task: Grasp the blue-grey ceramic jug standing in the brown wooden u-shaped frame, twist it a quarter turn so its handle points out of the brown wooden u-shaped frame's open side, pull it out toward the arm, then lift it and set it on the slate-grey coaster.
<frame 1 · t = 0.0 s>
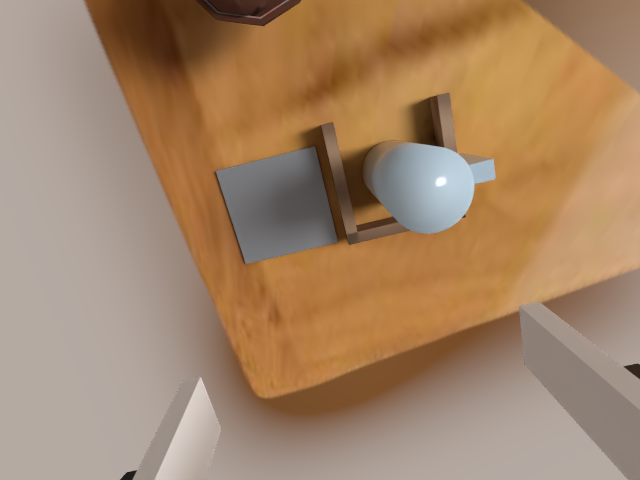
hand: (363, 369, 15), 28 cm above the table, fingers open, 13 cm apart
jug: (391, 170, 40), resting in brown wooden u-shaped frame
brown wooden u-shaped frame: (391, 170, 40), on the table
coaster: (279, 207, 41), on the table
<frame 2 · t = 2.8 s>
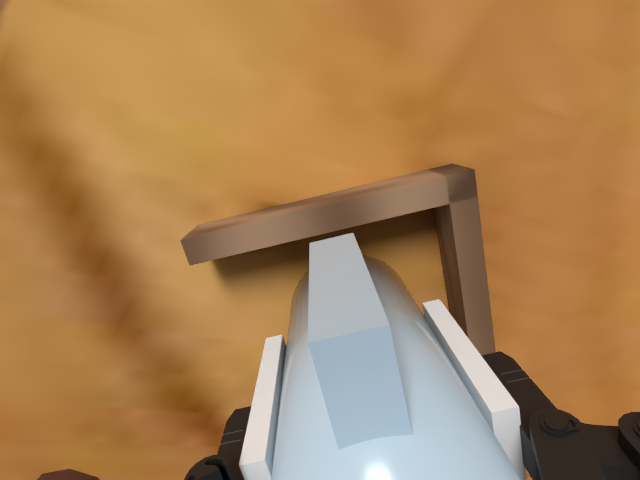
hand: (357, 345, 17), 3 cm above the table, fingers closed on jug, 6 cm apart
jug: (350, 309, 20), resting in brown wooden u-shaped frame, touching gripper
brown wooden u-shaped frame: (350, 309, 20), on the table
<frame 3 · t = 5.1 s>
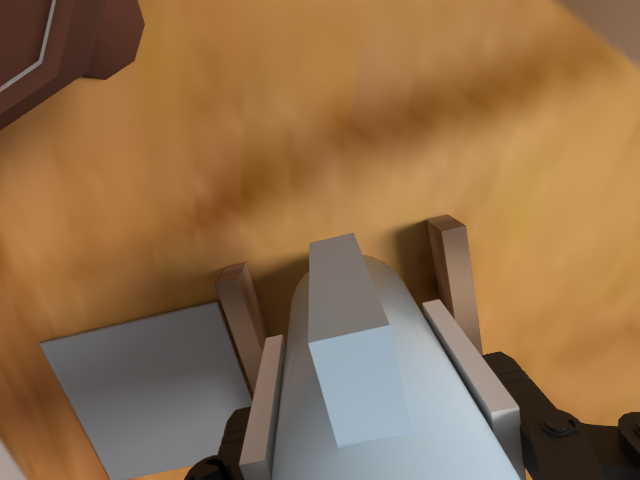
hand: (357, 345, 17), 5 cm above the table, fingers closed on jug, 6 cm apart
ice cream bowl: (86, 17, 18), on the table
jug: (350, 310, 20), point 2 cm above the table, touching gripper
brown wooden u-shaped frame: (358, 338, 23), on the table
coaster: (162, 396, 24), on the table
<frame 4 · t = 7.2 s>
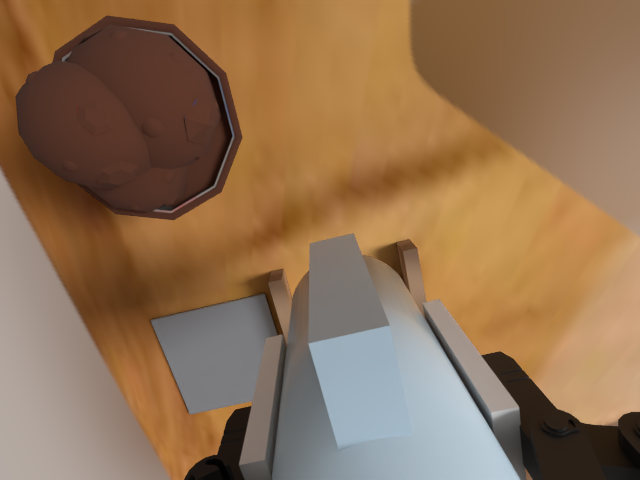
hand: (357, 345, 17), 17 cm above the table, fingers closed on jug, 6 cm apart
ice cream bowl: (194, 126, 30), on the table
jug: (350, 310, 20), point 13 cm above the table, touching gripper
brown wooden u-shaped frame: (354, 317, 35), on the table
coaster: (226, 355, 36), on the table
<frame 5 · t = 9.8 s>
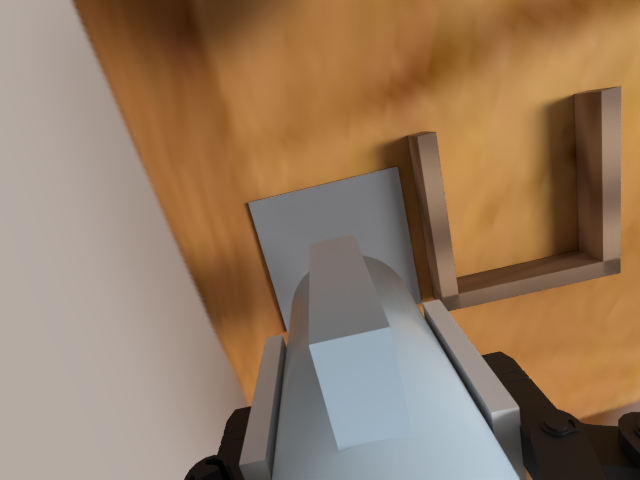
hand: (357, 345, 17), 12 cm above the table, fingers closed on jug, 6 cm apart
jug: (350, 310, 20), point 9 cm above the table, touching gripper
brown wooden u-shaped frame: (506, 201, 27), on the table
coaster: (338, 254, 28), on the table
when the fingers open (5 cm above the table, at t = 11.7 s): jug drops 1 cm, resting on coaster.
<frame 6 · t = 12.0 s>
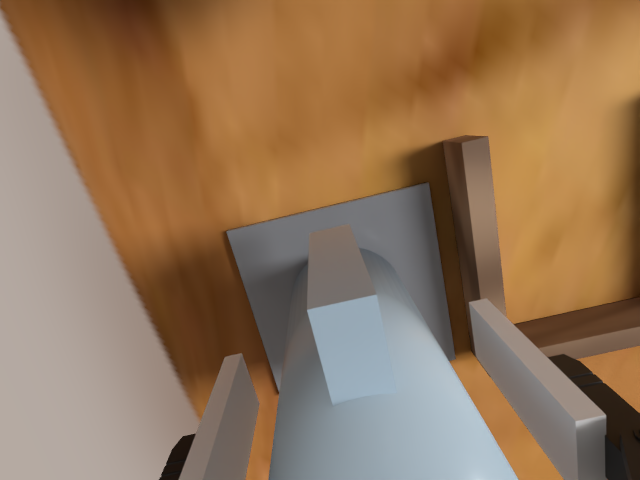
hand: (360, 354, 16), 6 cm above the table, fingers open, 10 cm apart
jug: (347, 300, 21), resting on coaster
brown wooden u-shaped frame: (572, 229, 21), on the table
coaster: (347, 297, 21), on the table
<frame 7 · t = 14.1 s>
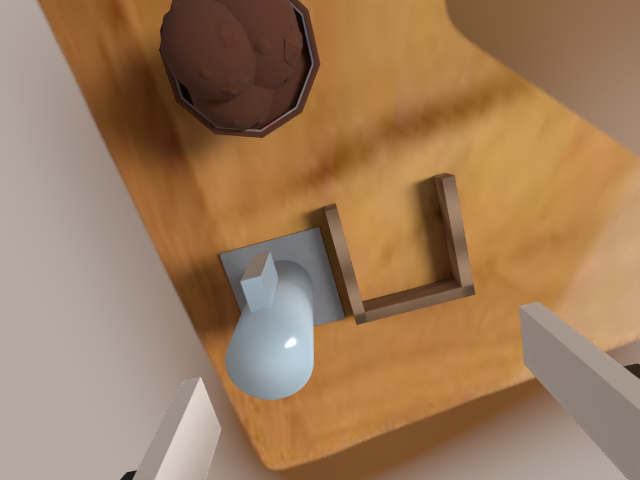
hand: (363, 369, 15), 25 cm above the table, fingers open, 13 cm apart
ice cream bowl: (259, 77, 35), on the table
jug: (283, 287, 40), resting on coaster
brown wooden u-shaped frame: (397, 247, 40), on the table
coaster: (284, 286, 41), on the table
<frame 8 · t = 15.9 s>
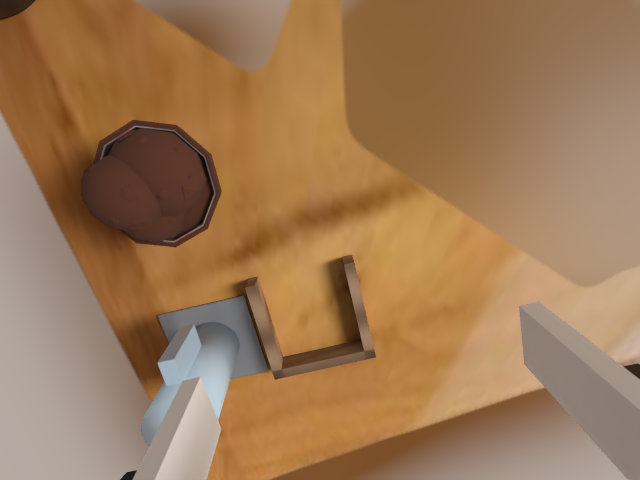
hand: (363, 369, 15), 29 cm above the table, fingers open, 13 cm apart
ice cream bowl: (190, 173, 41), on the table
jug: (214, 344, 47), resting on coaster
brown wooden u-shaped frame: (312, 313, 46), on the table
coaster: (215, 342, 47), on the table
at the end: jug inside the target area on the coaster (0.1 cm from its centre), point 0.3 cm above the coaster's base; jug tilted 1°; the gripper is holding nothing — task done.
